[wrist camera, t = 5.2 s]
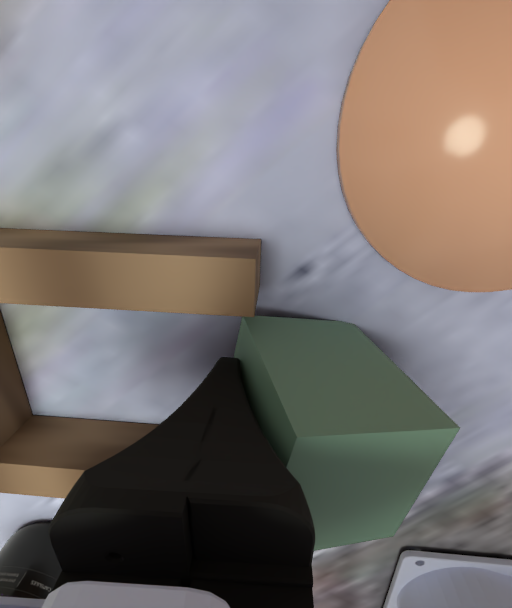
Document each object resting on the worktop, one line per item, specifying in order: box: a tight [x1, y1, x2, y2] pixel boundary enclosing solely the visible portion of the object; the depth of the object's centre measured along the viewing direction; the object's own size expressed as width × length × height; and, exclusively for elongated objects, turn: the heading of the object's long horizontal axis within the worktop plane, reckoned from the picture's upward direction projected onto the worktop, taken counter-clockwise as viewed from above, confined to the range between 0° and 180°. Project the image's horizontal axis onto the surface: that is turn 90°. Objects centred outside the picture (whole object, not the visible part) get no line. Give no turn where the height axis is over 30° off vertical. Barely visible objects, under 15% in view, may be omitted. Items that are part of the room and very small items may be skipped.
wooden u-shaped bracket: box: [0, 228, 261, 498], centre depth 14 cm, size 14×12×3 cm
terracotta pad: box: [337, 0, 512, 292], centre depth 10 cm, size 11×11×1 cm
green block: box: [234, 315, 460, 551], centre depth 12 cm, size 5×5×6 cm
